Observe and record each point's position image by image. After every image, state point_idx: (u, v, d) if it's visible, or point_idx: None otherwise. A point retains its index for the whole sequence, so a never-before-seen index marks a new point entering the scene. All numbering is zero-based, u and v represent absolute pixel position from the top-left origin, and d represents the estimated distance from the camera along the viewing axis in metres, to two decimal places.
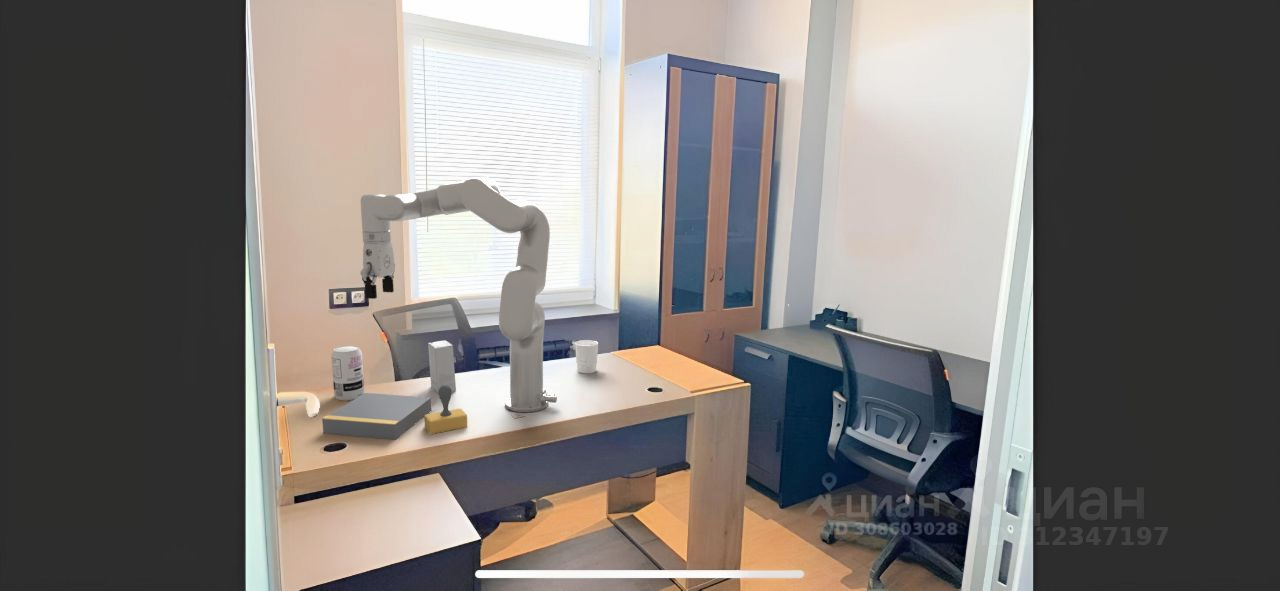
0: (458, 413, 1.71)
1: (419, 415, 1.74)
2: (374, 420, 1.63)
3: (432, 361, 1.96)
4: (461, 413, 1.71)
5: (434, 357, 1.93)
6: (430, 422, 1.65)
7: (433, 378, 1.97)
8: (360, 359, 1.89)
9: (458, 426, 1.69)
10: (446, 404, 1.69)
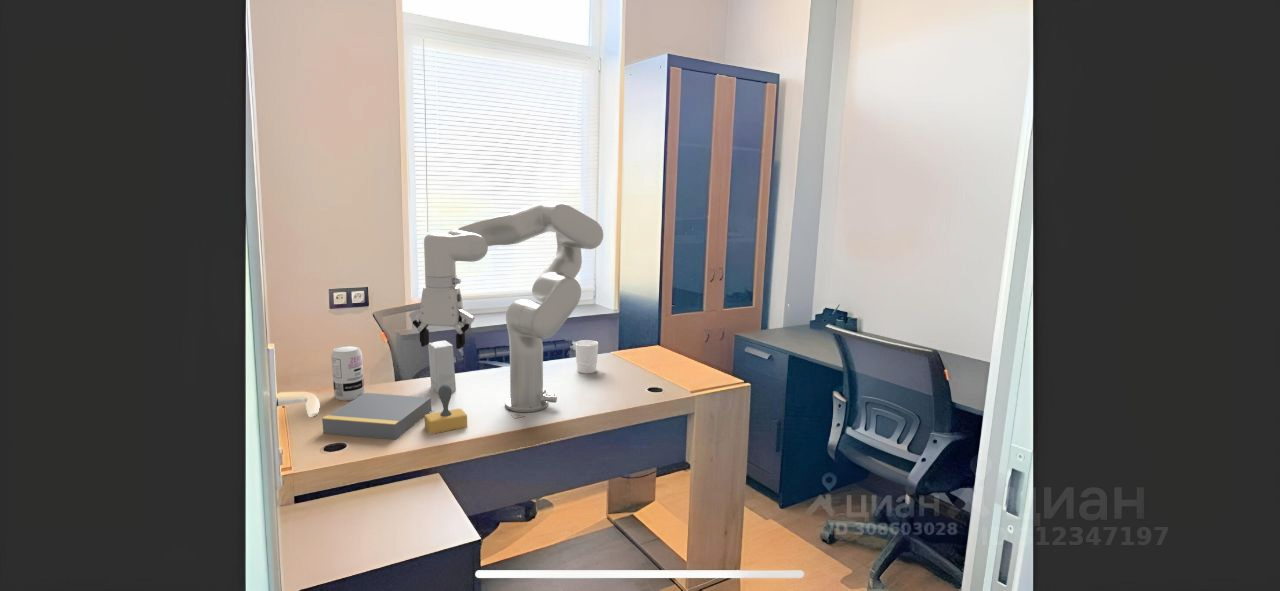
0: (458, 413, 1.71)
1: (419, 415, 1.74)
2: (374, 420, 1.63)
3: (432, 361, 1.96)
4: (461, 413, 1.71)
5: (434, 357, 1.93)
6: (430, 422, 1.65)
7: (433, 378, 1.97)
8: (360, 359, 1.89)
9: (458, 426, 1.69)
10: (446, 404, 1.69)
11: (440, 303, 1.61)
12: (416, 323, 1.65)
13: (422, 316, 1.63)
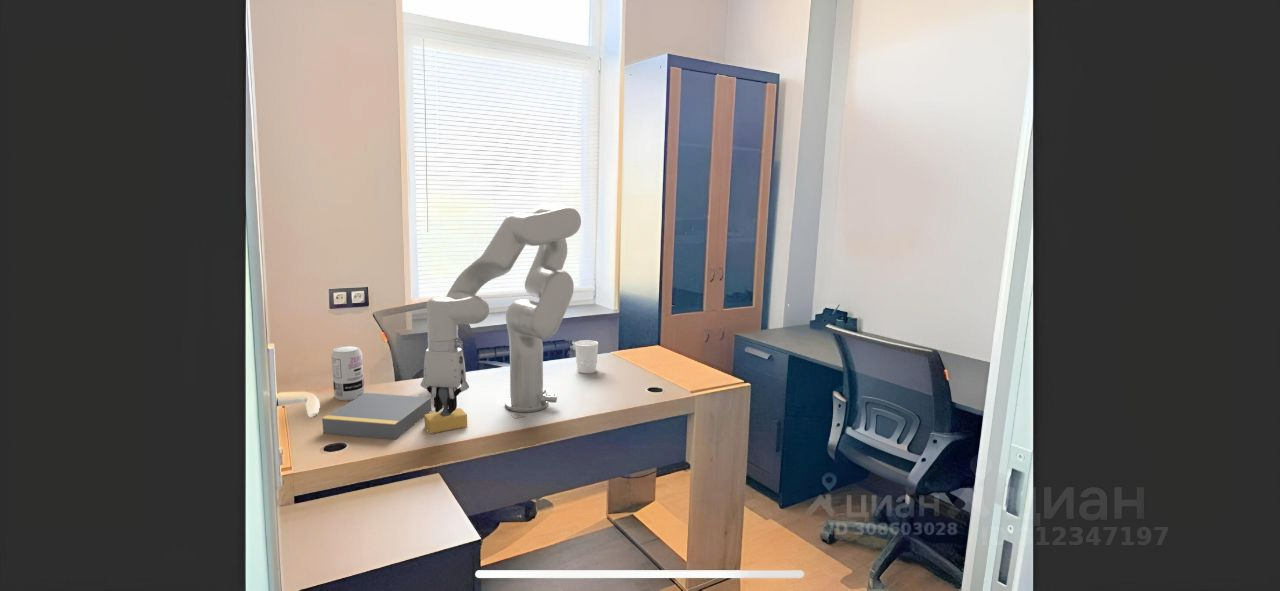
0: (458, 413, 1.71)
1: (419, 415, 1.74)
2: (374, 420, 1.63)
3: None
4: (461, 413, 1.71)
5: None
6: (430, 422, 1.65)
7: None
8: (360, 359, 1.89)
9: (458, 426, 1.69)
10: (446, 404, 1.69)
11: (443, 366, 1.64)
12: (430, 389, 1.68)
13: (425, 378, 1.66)
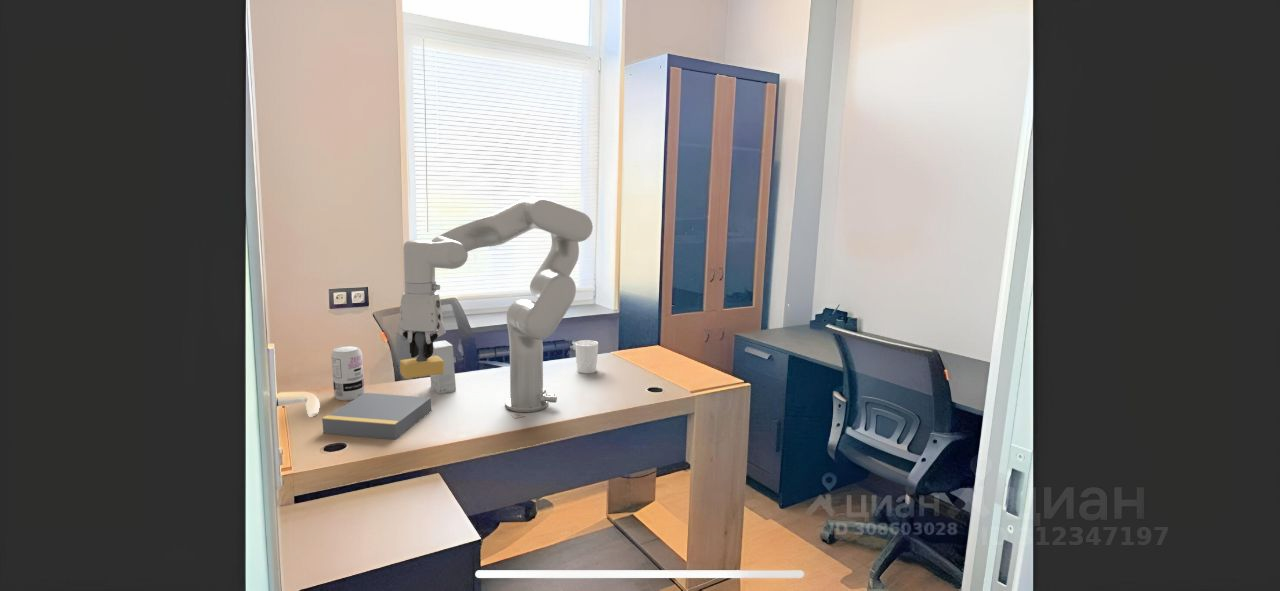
0: (435, 359, 1.68)
1: (419, 415, 1.74)
2: (374, 420, 1.63)
3: None
4: (437, 359, 1.68)
5: None
6: (406, 366, 1.63)
7: (433, 378, 1.97)
8: (360, 359, 1.89)
9: (434, 372, 1.67)
10: (422, 349, 1.66)
11: (419, 309, 1.62)
12: (406, 334, 1.66)
13: (401, 322, 1.64)
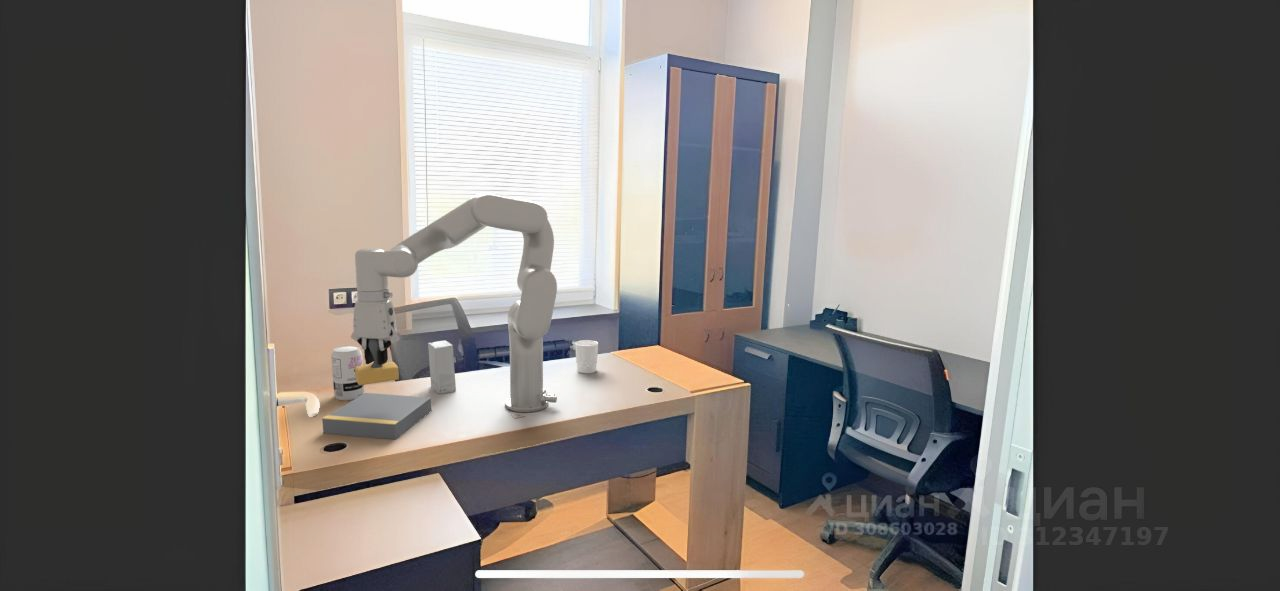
0: (389, 365, 1.71)
1: (419, 415, 1.74)
2: (374, 420, 1.63)
3: (432, 361, 1.96)
4: (392, 365, 1.71)
5: (434, 357, 1.93)
6: (359, 373, 1.65)
7: (433, 378, 1.97)
8: (360, 359, 1.89)
9: (389, 378, 1.69)
10: (376, 356, 1.69)
11: (372, 317, 1.65)
12: (361, 341, 1.68)
13: (355, 329, 1.66)
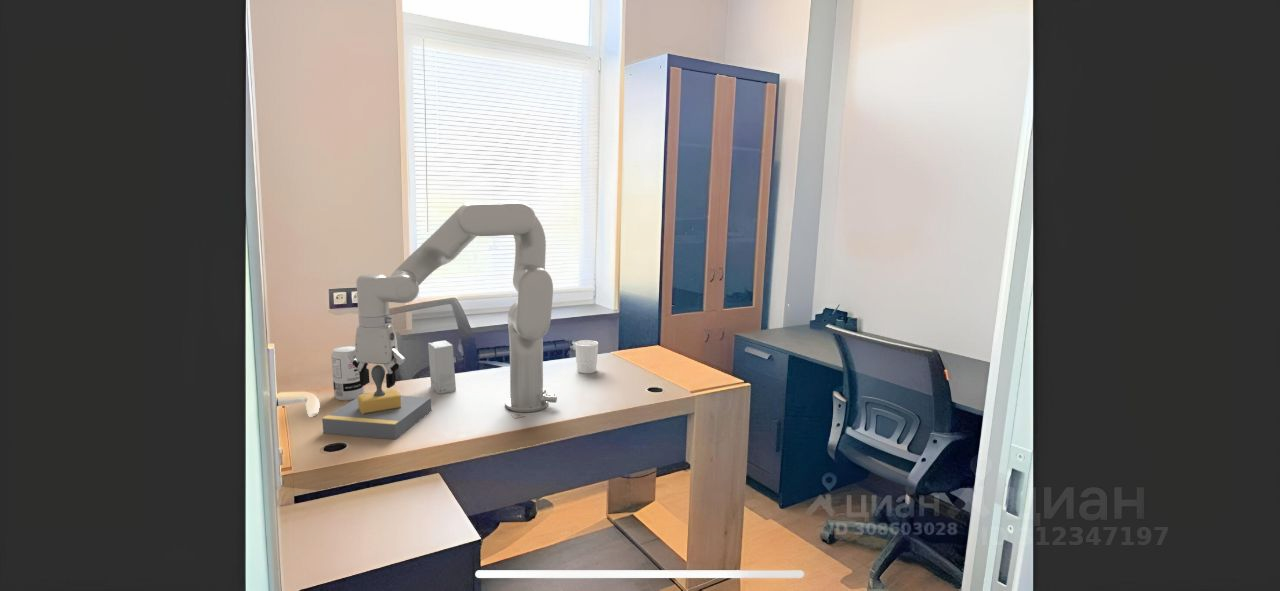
0: (392, 393, 1.72)
1: (419, 415, 1.74)
2: (374, 420, 1.63)
3: (432, 361, 1.96)
4: (395, 393, 1.72)
5: (434, 357, 1.93)
6: (362, 402, 1.67)
7: (433, 378, 1.97)
8: None
9: (391, 406, 1.71)
10: (379, 384, 1.70)
11: (373, 342, 1.66)
12: (356, 363, 1.70)
13: (356, 354, 1.68)
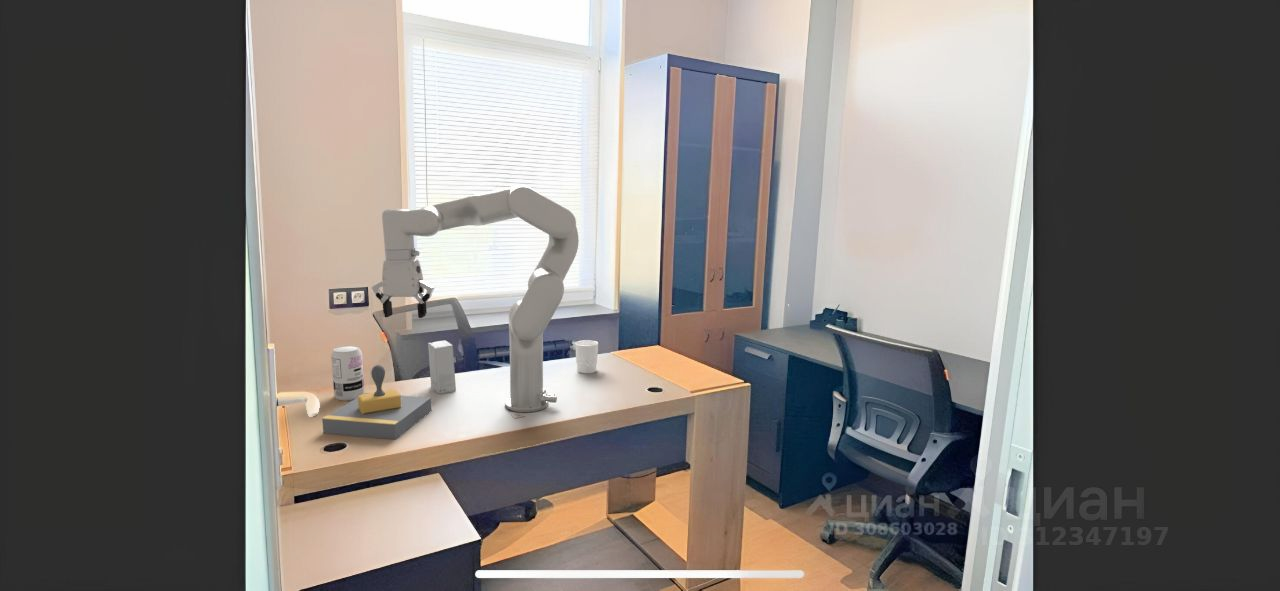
0: (392, 393, 1.72)
1: (419, 415, 1.74)
2: (374, 420, 1.63)
3: (432, 361, 1.96)
4: (395, 393, 1.72)
5: (434, 357, 1.93)
6: (362, 402, 1.67)
7: (433, 378, 1.97)
8: (360, 359, 1.89)
9: (391, 406, 1.71)
10: (379, 384, 1.70)
11: (400, 275, 1.70)
12: (379, 295, 1.73)
13: (384, 288, 1.71)
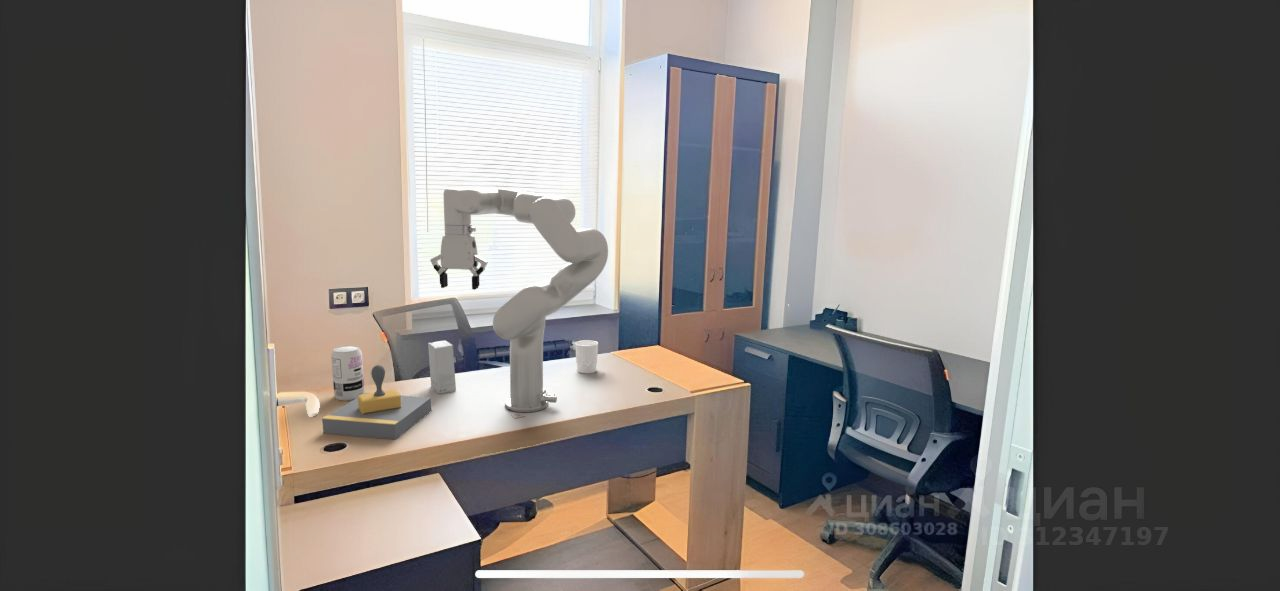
0: (392, 393, 1.72)
1: (419, 415, 1.74)
2: (374, 420, 1.63)
3: (432, 361, 1.96)
4: (395, 393, 1.72)
5: (434, 357, 1.93)
6: (362, 402, 1.67)
7: (433, 378, 1.97)
8: (360, 359, 1.89)
9: (391, 406, 1.71)
10: (379, 384, 1.70)
11: (458, 248, 1.84)
12: (436, 267, 1.88)
13: (442, 260, 1.86)
